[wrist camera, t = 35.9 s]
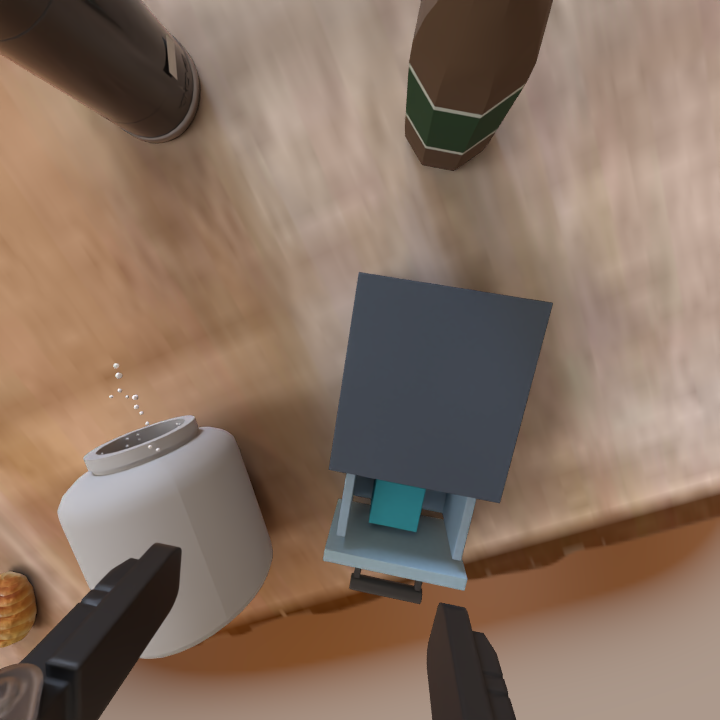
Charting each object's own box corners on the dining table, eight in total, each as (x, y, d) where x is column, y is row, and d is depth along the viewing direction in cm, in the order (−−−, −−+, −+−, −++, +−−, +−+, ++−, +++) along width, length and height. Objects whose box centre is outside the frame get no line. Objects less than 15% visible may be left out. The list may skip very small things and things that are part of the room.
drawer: (441, 569, 39) (452, 636, 32) (330, 546, 40) (315, 606, 32) (480, 404, 35) (504, 435, 28) (357, 382, 36) (347, 406, 28)
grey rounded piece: (100, 583, 39) (2, 374, 31) (226, 508, 49) (175, 333, 41) (145, 736, 26) (-4, 441, 18) (306, 592, 35) (254, 356, 28)
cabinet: (472, 449, 37) (500, 503, 28) (345, 425, 38) (328, 469, 29) (508, 299, 34) (553, 302, 25) (368, 277, 35) (358, 272, 25)
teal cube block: (371, 495, 37) (368, 522, 33) (378, 456, 36) (376, 479, 32) (413, 504, 37) (416, 532, 32) (422, 465, 36) (426, 489, 32)
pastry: (-6, 560, 46) (-40, 583, 43) (42, 573, 46) (12, 598, 42) (-6, 617, 48) (-39, 645, 45) (40, 630, 48) (10, 659, 44)
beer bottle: (496, 163, 32) (774, -187, 9) (411, 183, 33) (451, -84, 10) (485, 68, 31) (778, -649, 7) (397, 92, 32) (405, -475, 8)
